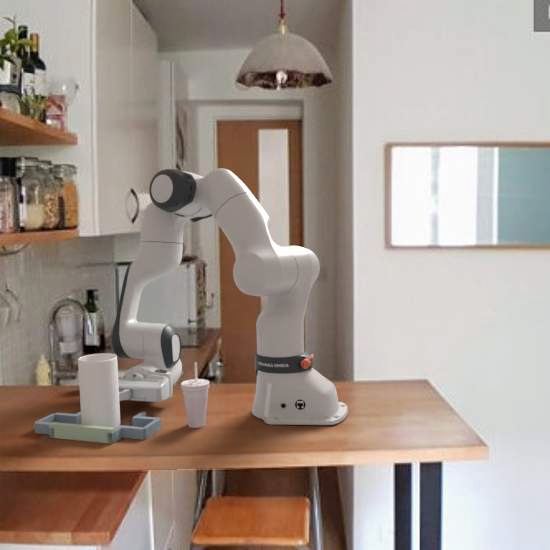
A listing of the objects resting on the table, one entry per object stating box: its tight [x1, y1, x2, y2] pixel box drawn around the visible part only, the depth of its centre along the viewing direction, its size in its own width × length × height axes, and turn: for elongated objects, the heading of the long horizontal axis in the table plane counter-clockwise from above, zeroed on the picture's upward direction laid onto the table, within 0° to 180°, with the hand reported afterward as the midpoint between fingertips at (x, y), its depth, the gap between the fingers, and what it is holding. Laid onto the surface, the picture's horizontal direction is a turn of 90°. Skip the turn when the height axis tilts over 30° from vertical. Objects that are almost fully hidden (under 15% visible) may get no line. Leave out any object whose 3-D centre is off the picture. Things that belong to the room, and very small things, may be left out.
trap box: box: [34, 410, 162, 445], centre depth 125 cm, size 26×14×3 cm, turn 73°
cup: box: [77, 352, 121, 428], centre depth 125 cm, size 8×8×16 cm
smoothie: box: [180, 361, 211, 429], centre depth 126 cm, size 6×6×14 cm
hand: (110, 398), depth 129 cm, fingers closed, pressing on cup
